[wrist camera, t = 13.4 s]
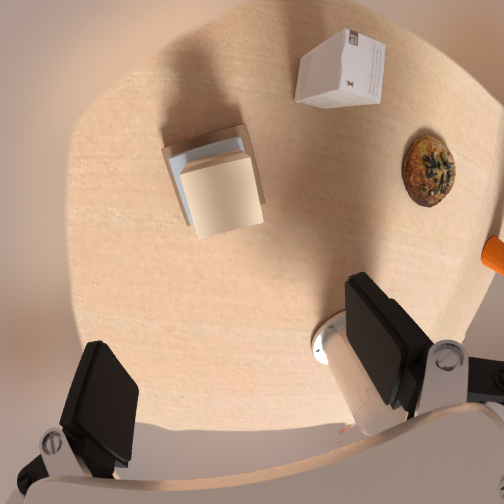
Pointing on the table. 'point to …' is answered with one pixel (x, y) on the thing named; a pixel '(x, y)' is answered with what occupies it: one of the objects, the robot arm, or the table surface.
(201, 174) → the beech block
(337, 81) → the skincare box
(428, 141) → the bread roll
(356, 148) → the table surface
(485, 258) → the spray bottle
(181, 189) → the grey slab
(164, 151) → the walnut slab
